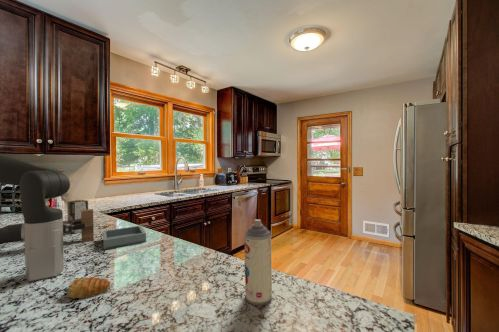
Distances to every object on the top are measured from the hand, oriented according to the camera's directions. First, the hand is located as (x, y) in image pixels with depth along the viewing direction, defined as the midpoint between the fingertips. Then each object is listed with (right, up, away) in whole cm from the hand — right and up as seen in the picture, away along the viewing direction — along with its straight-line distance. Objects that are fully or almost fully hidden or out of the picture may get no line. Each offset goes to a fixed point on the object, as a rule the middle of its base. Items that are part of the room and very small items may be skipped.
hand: (85, 223), depth 105 cm
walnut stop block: (+1, -8, 0) cm, 8 cm away
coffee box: (-15, -8, +16) cm, 24 cm away
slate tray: (+19, -7, -1) cm, 20 cm away
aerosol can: (+79, -7, -47) cm, 92 cm away
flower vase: (-25, -8, +7) cm, 27 cm away
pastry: (+32, -8, -43) cm, 54 cm away
